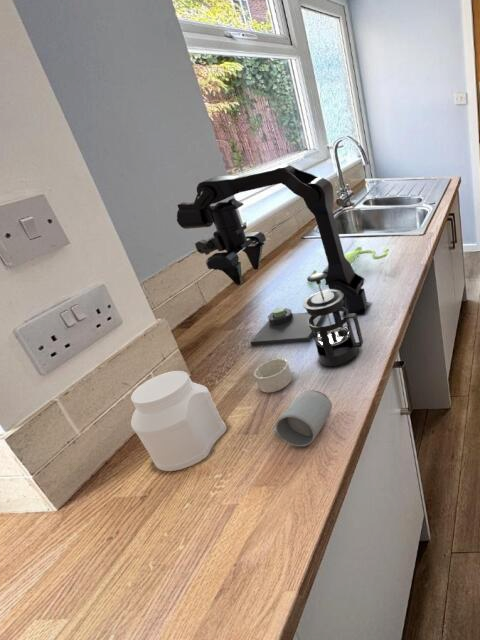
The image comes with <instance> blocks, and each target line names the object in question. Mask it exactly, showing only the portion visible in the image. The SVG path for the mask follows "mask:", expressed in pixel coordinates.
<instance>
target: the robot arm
mask: <svg viewBox="0 0 480 640" xmlns="http://www.w3.org/2000/svg"><path fill="white" fill-rule="evenodd" d="M280 184H282V185H284V186H285V187H286V188H288V189H289V190H290V191H291V192H292V193H293V194H294V195H296V196H298V197H299V198H302V200H303V201H304V204H305V206H306V207H307V209H308V210H309V211H310V212H311V213H312V215H313V216H314V218H315V222H316V226H317V228H318V229H317V230H318V232H319V236H320V239H321V243H322V246H323V251H324V253H325V257H326V260H327V261H326V262H327V266H326V267H325V268H324V269H323V271H322V272H323V273H326V274H327V277H326V278H325V279H324V281H325V284H324V285H325V286H327V287H328V290H329V289H335V290H340V291H342V292H343V294H344V297H343V306H342V307H344V308H346V309H347V310H348V314H353V313H356V315H357V316H364V315H365V314H366V312H367V310H368V308H369V306H370V305H371V304H370V301H368V299H367V296H366V291H365V288H362V287H363V286H364V284H365V278H364V277H362V276H361V275H359V274H358V273H356V272H355V271H354V268H353V266H352V263H351V264H350V263H349V262H348V261H347V260H346V258H345V256H344V255H345V253H344V249H343V246H342V241H341V238H340V234H339V230H338V226H337V223H336V218H335V215H334V211H333V210H334V201H335V199H334V198H335V197H334V187H333V184H332V182H331V181H329V180H328V179H326V178H324V177H318V176H317V175H315V174H312V173H310V172H306V171H304V170H301V169H298V168H297V167H295V166H293V165H290V164H282V165H281V166H278V167H273V168H270V169H264V170H260V171H256V172H251V173H247V174H243V175H216V176H215V175H214V176H213V177H210V178H208V179H206V180H203V181H201V182H199V183H198V184H197V186H196V193H197V194H196V195H195V198H194V201H192V202H188V201H185V202H184V201H183V202H180V203H178V204H177V205H176V206H177V208H178V210H177V212H176V222H177V224H178V225H179V226H180V227H181V228H182V229H186V230H188V229H202V228H211V226H213V224H214V226H215V229H216V231H214V232H213V234H212V235H213V236H212V237H210V238H208V239H204V238H203V239H202V238H201V240H198V241H197V242H195V243H194V245H195V249H196V252H197V253H199V254H201V255H203V254H205V256H208V255H209V254H211V253H213V252H214V253H213V254H212V255H210V256H209V257H208V258H207V259H206V260H205V264H206V265H205V266H206V267H207V269H208V270H215V271H218V270H219V271H221V272H223V273H224V274H225V275H226V276H227V277H228V278H229V279H230V280H231V281H232V282H234V284H235V285H236V286H241V285H242V283H243V282H242V281H243V277H242V276H243V275H242V262H241V261H240V257H239V254H240V253H241V252H244V253H245V254H246V257H247V258H248V261H249V263H250V265H251V266H252V269H253V270H255V271H257V270H259V269H260V263H261V258H262V253H263V250H264V246H265V242H266V241H267V238H266V235H265V233H263V232H262V231H249V232H245V230H246V229H247V228H248V227H247V225H246V224H242V222H241V219H240V216H239V212H238V210H237V209H239V208H241V207H243V206H244V203H243V202H242V201H240V200H237V199H236V198H234V197H233V196H235V195H237V194H239V193H243V192H247V191H252V190H258V189H262V188H266V187H271V186H275V185H280ZM231 197H232V198H231ZM228 198H230V199H228ZM226 199H228V201H224V200H226ZM212 204H213V205H212ZM214 204H215V205H214ZM215 251H218V252H215ZM223 251H225V252H223ZM341 315H342V317H345V316H346V315H347V313H345V312H342V314H341Z"/></svg>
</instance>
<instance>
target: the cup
mask: <svg viewBox="0 0 480 640" xmlns="http://www.w3.org/2000/svg"><path fill="white" fill-rule="evenodd" d="M291 369H292V368H291V367H290V364H289V362H288V360H287V359H286V358H283V357H282V358H281V357H279V358H278V357H277V358H272V359H269V360H266V361H265V362H262V363H261V364H260V365H258V366H257V367H256V368H255V370H254V372H253V376H254V379H255V382H256V384H257V386H258V389H259V390H260V391H261V392H264V393H275V392H278V391H281V390H283V389H284V388H286V387H287V386H288V385H289V384H290V383H291V382H292V380H293V372H292V370H291Z"/></svg>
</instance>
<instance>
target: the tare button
mask: <svg viewBox="0 0 480 640" xmlns="http://www.w3.org/2000/svg"><path fill="white" fill-rule="evenodd" d="M285 309H286V308H285V307H283V306H280V307H276V308H274V309H273V310H272V312H273V315H274V317H275V318H279V317H282V316H284V315H286V312H285Z"/></svg>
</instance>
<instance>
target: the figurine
mask: <svg viewBox="0 0 480 640" xmlns="http://www.w3.org/2000/svg"><path fill="white" fill-rule="evenodd" d="M362 249H363V248H362V246H357V247H356V248H355V249H354V250H352V251H348V252H347V253H344V256H345V258H346V260H347V261H348V262H349V263H350V264H351V265H352V263H353V262H354V261H355V260H356V258H357V257H359V255H365V254H372V256H371V257H372V259H373V260H380V259H383V258H386V257H387V255H388V252H389V251H390V249H389V248H385V249H383V254H381V255H378V256H377V255H376V251H375V250H371V249H367V250H362ZM316 273H318V271H317V270H313V272H312V273H311V275H313V274H316ZM321 273H323V271H322V272H321Z"/></svg>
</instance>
